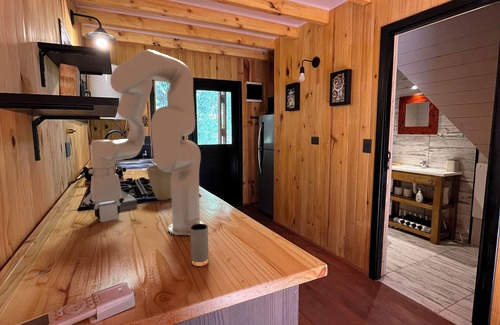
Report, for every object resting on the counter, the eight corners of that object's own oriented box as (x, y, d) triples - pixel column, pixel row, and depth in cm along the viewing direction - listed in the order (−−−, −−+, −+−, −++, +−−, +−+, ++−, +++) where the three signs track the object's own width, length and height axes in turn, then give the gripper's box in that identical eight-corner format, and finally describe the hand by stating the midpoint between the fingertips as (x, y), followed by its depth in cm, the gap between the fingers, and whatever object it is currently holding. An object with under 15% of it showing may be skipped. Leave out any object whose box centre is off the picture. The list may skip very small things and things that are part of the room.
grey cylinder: (192, 268, 71) (191, 230, 69) (190, 259, 75) (189, 224, 73) (209, 265, 72) (208, 228, 70) (207, 257, 76) (206, 222, 75)
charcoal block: (137, 208, 121) (136, 199, 120) (107, 214, 113) (106, 204, 113) (130, 202, 130) (129, 194, 129) (102, 206, 123) (101, 198, 122)
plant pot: (147, 196, 139) (145, 165, 137) (176, 192, 146) (175, 163, 143) (149, 203, 126) (147, 170, 124) (182, 200, 132) (180, 168, 130)
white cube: (118, 218, 107) (117, 204, 106) (100, 222, 103) (99, 207, 102) (114, 214, 111) (113, 200, 110) (98, 217, 108) (97, 203, 107)
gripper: (79, 175, 96) (83, 224, 99) (130, 170, 107) (133, 214, 109) (77, 172, 102) (81, 218, 105) (125, 168, 113) (128, 209, 115)
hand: (107, 216), depth 107 cm, fingers closed on white cube, 6 cm apart
